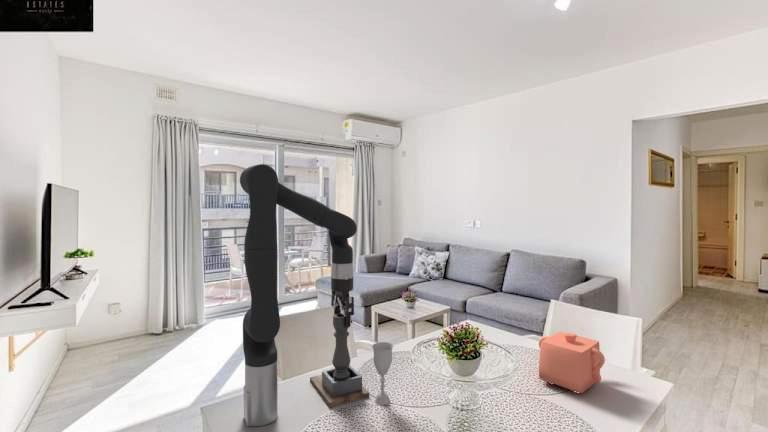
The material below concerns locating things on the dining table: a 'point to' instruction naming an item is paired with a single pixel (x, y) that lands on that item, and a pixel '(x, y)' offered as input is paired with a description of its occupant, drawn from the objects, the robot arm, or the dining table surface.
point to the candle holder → (340, 349)
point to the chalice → (382, 367)
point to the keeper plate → (331, 402)
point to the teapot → (570, 361)
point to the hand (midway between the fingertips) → (342, 323)
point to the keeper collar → (342, 383)
